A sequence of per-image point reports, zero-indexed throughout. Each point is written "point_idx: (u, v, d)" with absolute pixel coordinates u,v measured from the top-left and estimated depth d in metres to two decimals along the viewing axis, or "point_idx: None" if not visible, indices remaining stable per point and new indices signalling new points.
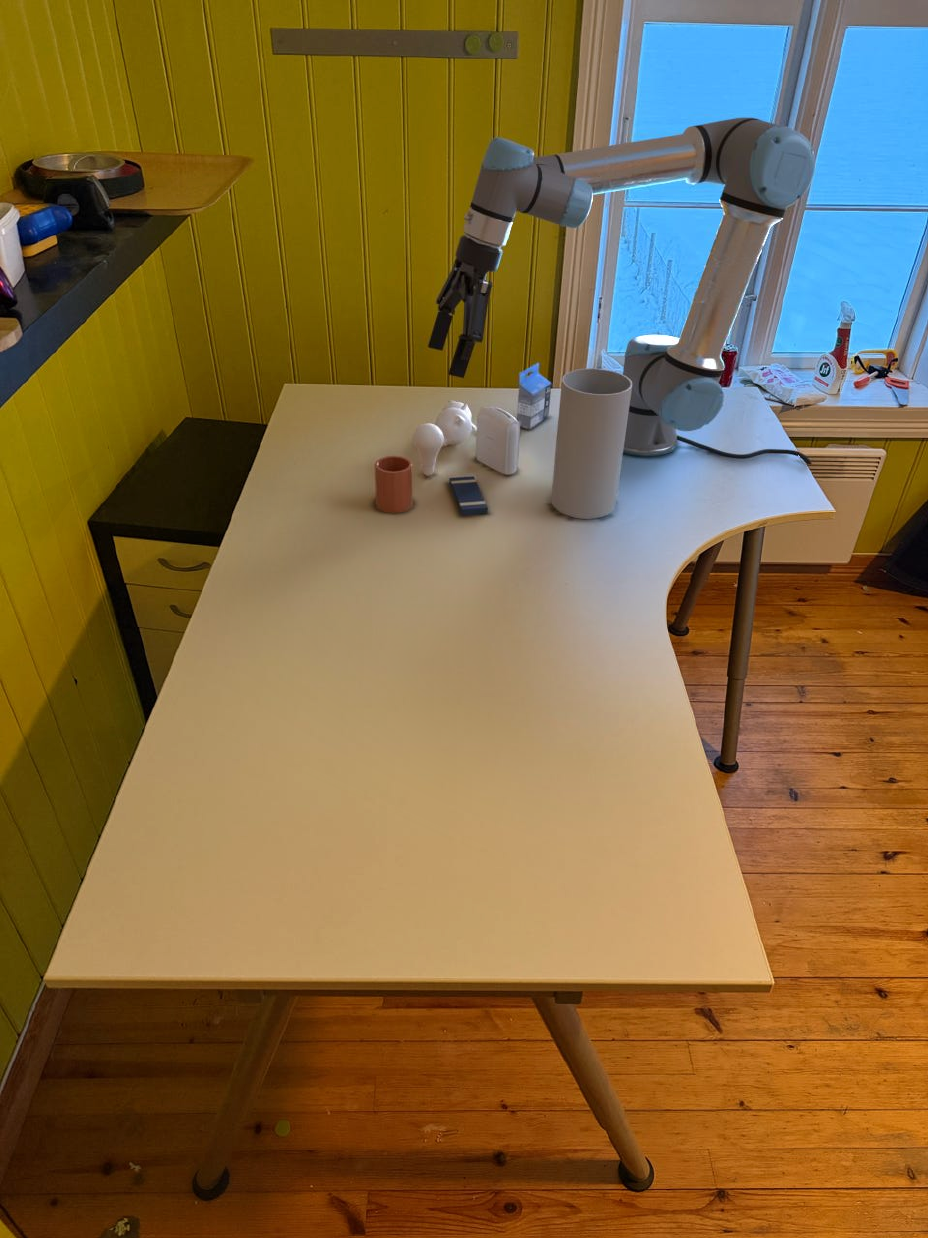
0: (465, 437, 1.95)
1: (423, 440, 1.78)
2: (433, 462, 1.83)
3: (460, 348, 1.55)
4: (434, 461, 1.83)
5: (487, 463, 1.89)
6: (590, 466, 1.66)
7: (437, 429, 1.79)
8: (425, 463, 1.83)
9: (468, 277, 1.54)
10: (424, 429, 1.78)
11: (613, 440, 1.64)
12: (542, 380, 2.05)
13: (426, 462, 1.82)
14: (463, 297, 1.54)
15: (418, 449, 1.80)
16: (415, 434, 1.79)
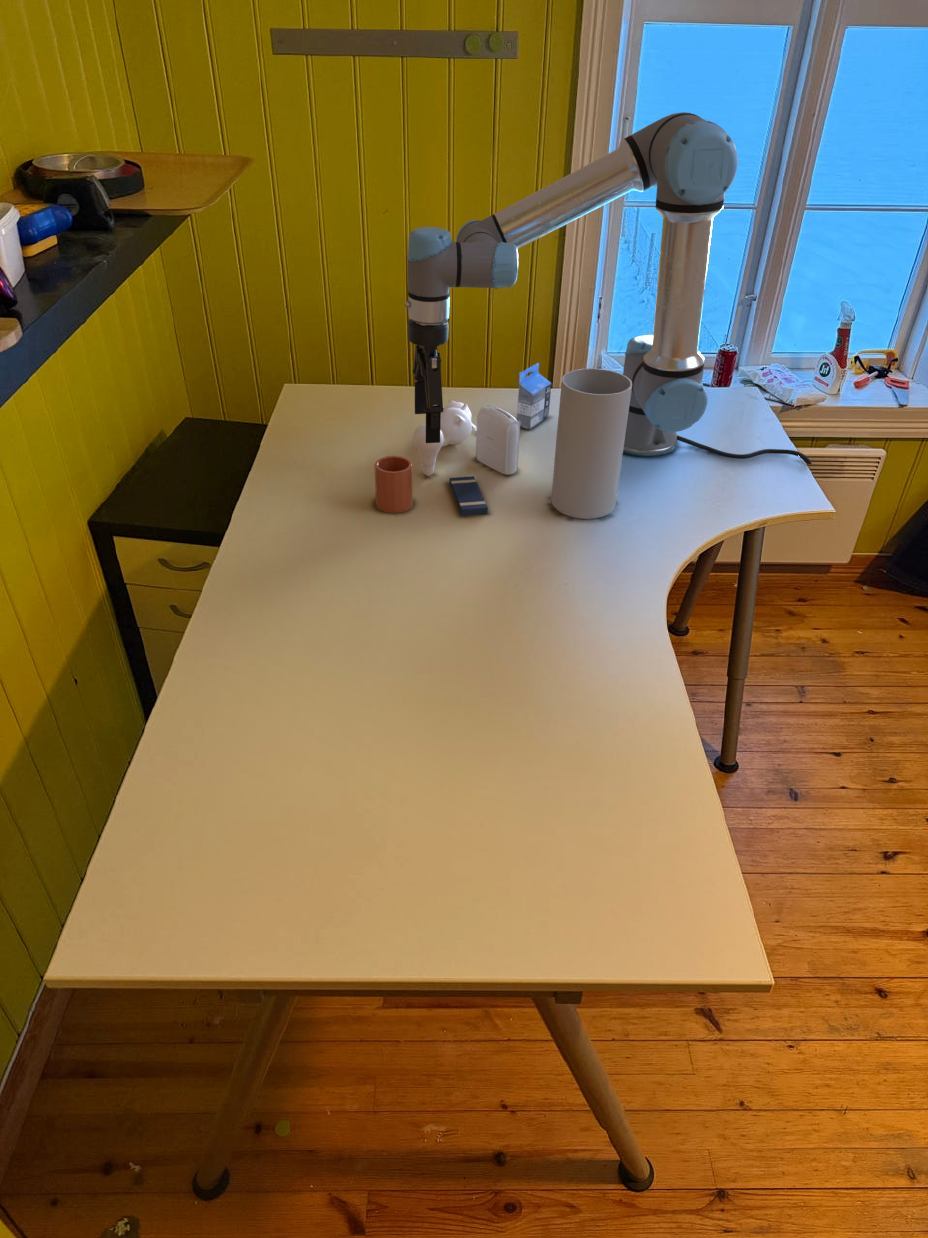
0: (465, 437, 1.95)
1: (423, 440, 1.78)
2: (433, 462, 1.83)
3: (428, 419, 1.71)
4: (434, 461, 1.83)
5: (487, 463, 1.89)
6: (590, 466, 1.66)
7: None
8: (425, 463, 1.83)
9: (423, 354, 1.69)
10: (424, 429, 1.78)
11: (613, 440, 1.64)
12: (542, 380, 2.05)
13: (426, 462, 1.82)
14: (421, 373, 1.69)
15: (418, 449, 1.80)
16: (415, 434, 1.79)
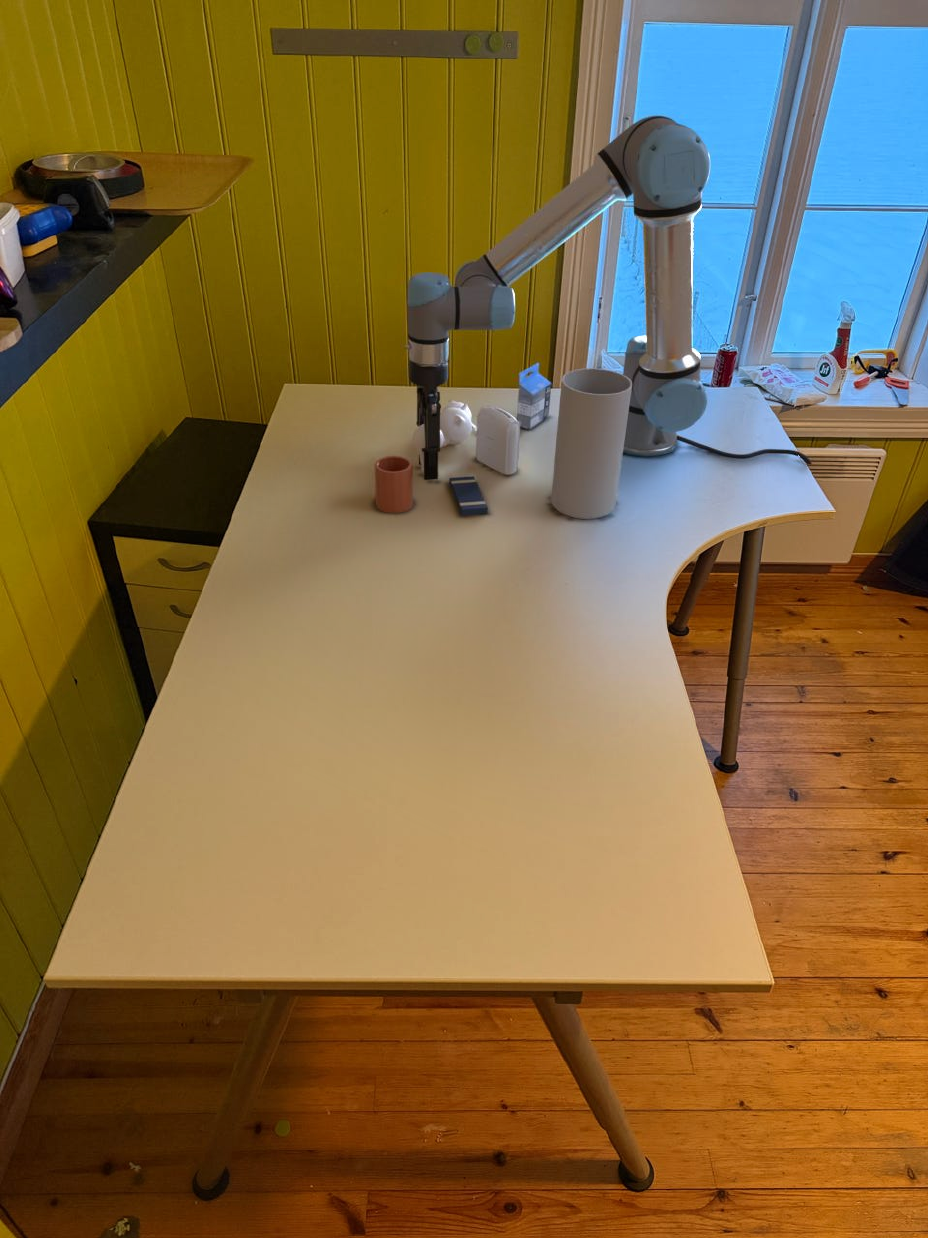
0: (465, 437, 1.95)
1: (423, 440, 1.78)
2: None
3: (426, 457, 1.79)
4: None
5: (487, 463, 1.89)
6: (590, 466, 1.66)
7: None
8: None
9: (423, 395, 1.74)
10: None
11: (613, 440, 1.64)
12: (542, 380, 2.05)
13: None
14: (421, 413, 1.75)
15: (418, 449, 1.80)
16: (415, 434, 1.79)
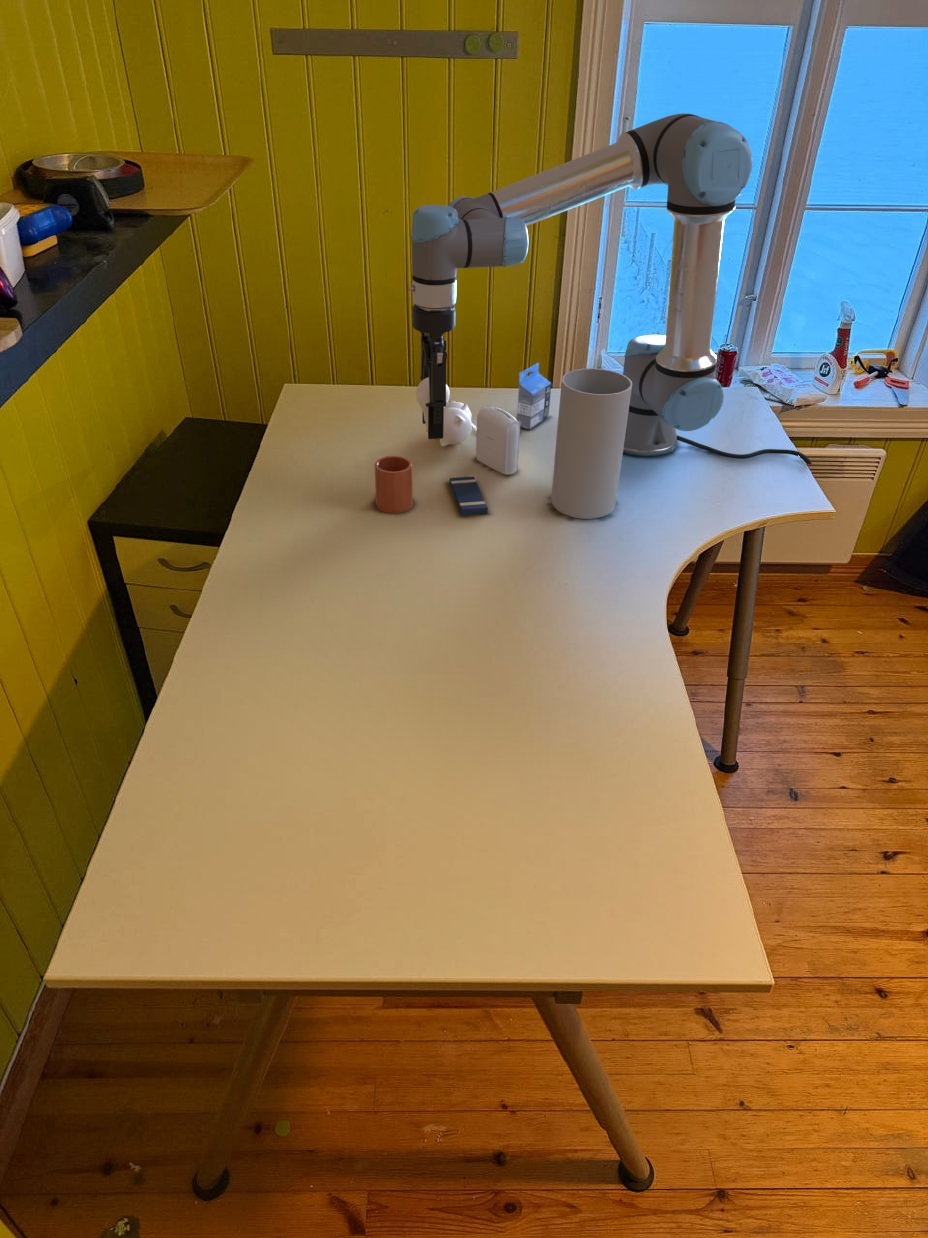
0: (465, 437, 1.95)
1: (428, 394, 1.63)
2: None
3: (431, 414, 1.64)
4: None
5: (487, 463, 1.89)
6: (590, 466, 1.66)
7: None
8: None
9: (428, 344, 1.58)
10: (428, 383, 1.63)
11: (613, 440, 1.64)
12: (542, 380, 2.05)
13: None
14: (426, 364, 1.60)
15: (422, 405, 1.65)
16: (419, 388, 1.64)
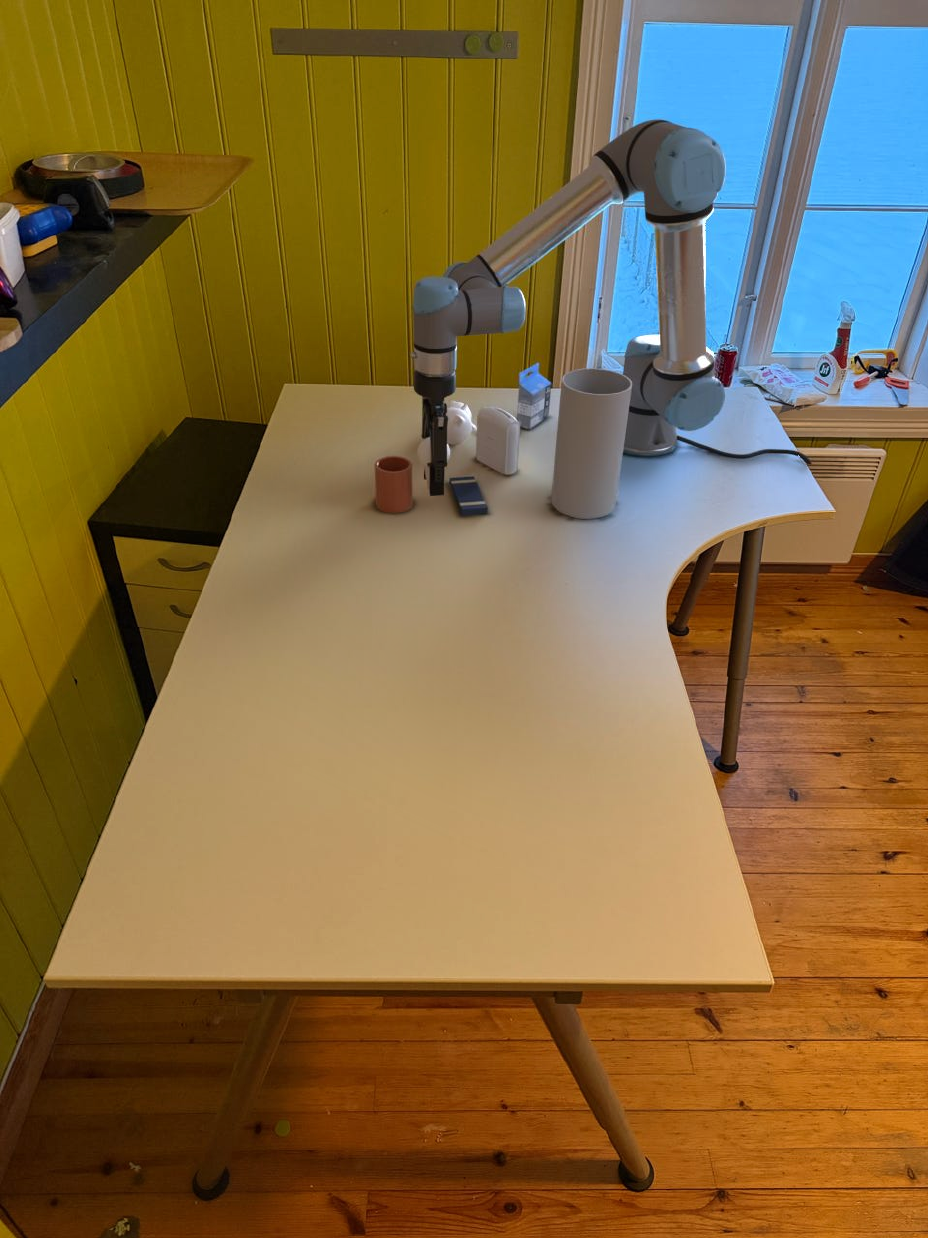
0: (465, 437, 1.95)
1: (429, 454, 1.68)
2: None
3: (432, 473, 1.69)
4: None
5: (487, 463, 1.89)
6: (590, 466, 1.66)
7: None
8: None
9: (429, 407, 1.64)
10: (429, 443, 1.68)
11: (613, 440, 1.64)
12: (542, 380, 2.05)
13: None
14: (427, 426, 1.65)
15: (423, 464, 1.70)
16: (420, 448, 1.69)
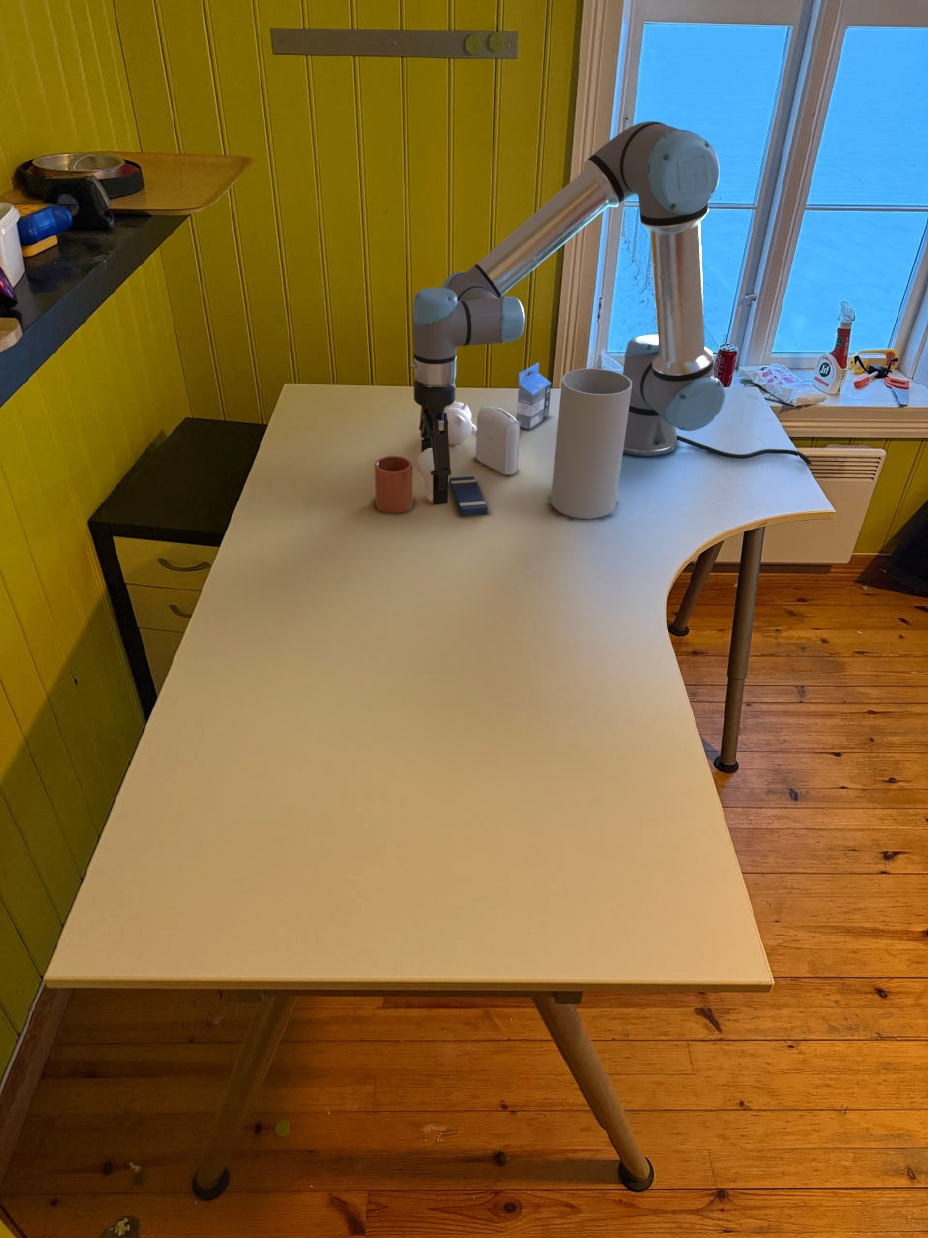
0: (465, 437, 1.95)
1: (429, 465, 1.70)
2: None
3: (436, 481, 1.67)
4: None
5: (487, 463, 1.89)
6: (590, 466, 1.66)
7: None
8: (430, 489, 1.74)
9: (429, 415, 1.65)
10: (429, 454, 1.70)
11: (613, 440, 1.64)
12: (542, 380, 2.05)
13: (431, 488, 1.74)
14: (428, 435, 1.65)
15: (423, 475, 1.72)
16: (420, 459, 1.71)
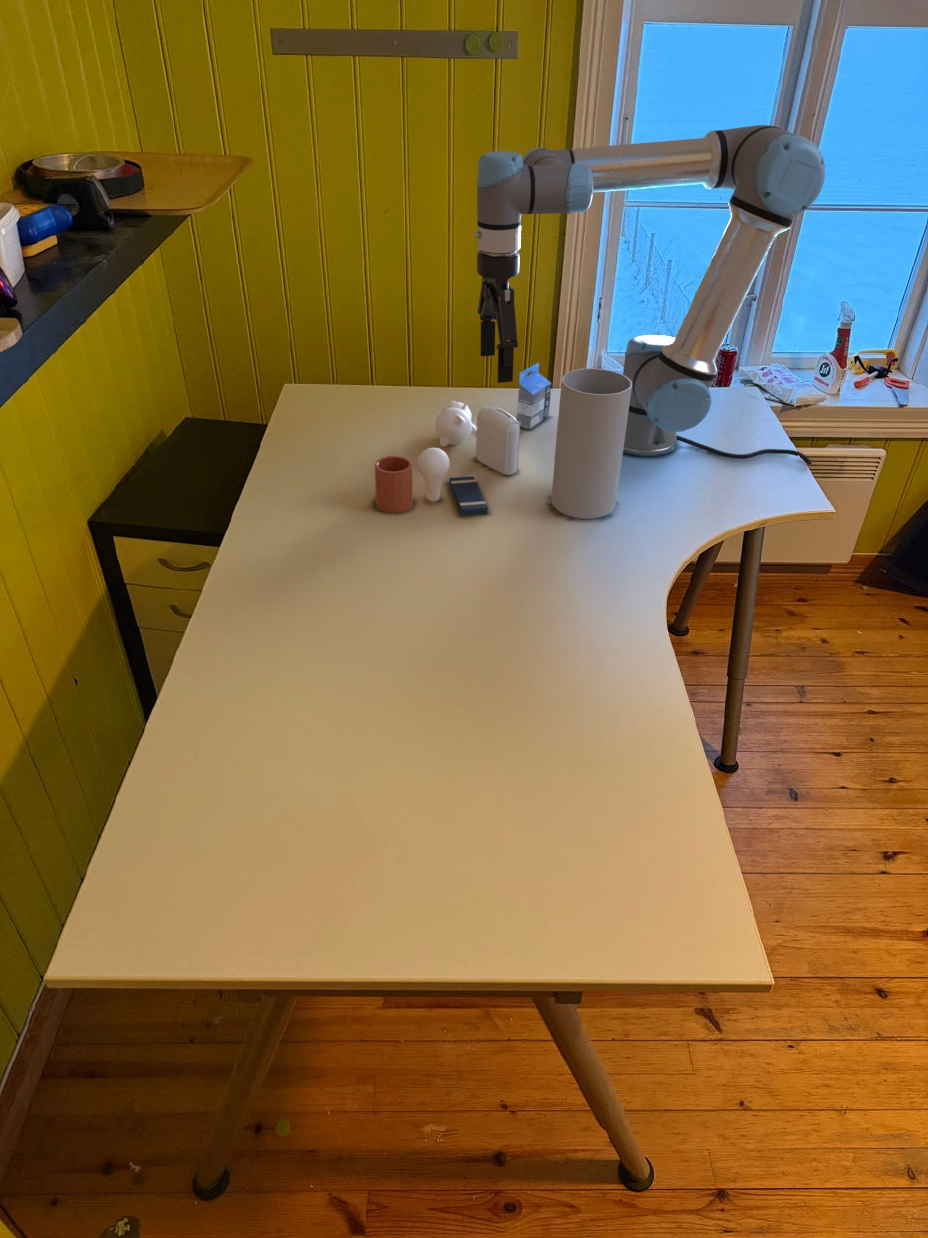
0: (465, 437, 1.95)
1: (429, 465, 1.70)
2: (439, 488, 1.74)
3: (501, 356, 1.64)
4: (440, 487, 1.74)
5: (487, 463, 1.89)
6: (590, 466, 1.66)
7: (443, 454, 1.71)
8: (430, 489, 1.74)
9: (493, 288, 1.62)
10: (429, 454, 1.70)
11: (613, 440, 1.64)
12: (542, 380, 2.05)
13: (431, 488, 1.74)
14: (493, 308, 1.62)
15: (423, 475, 1.72)
16: (420, 459, 1.71)
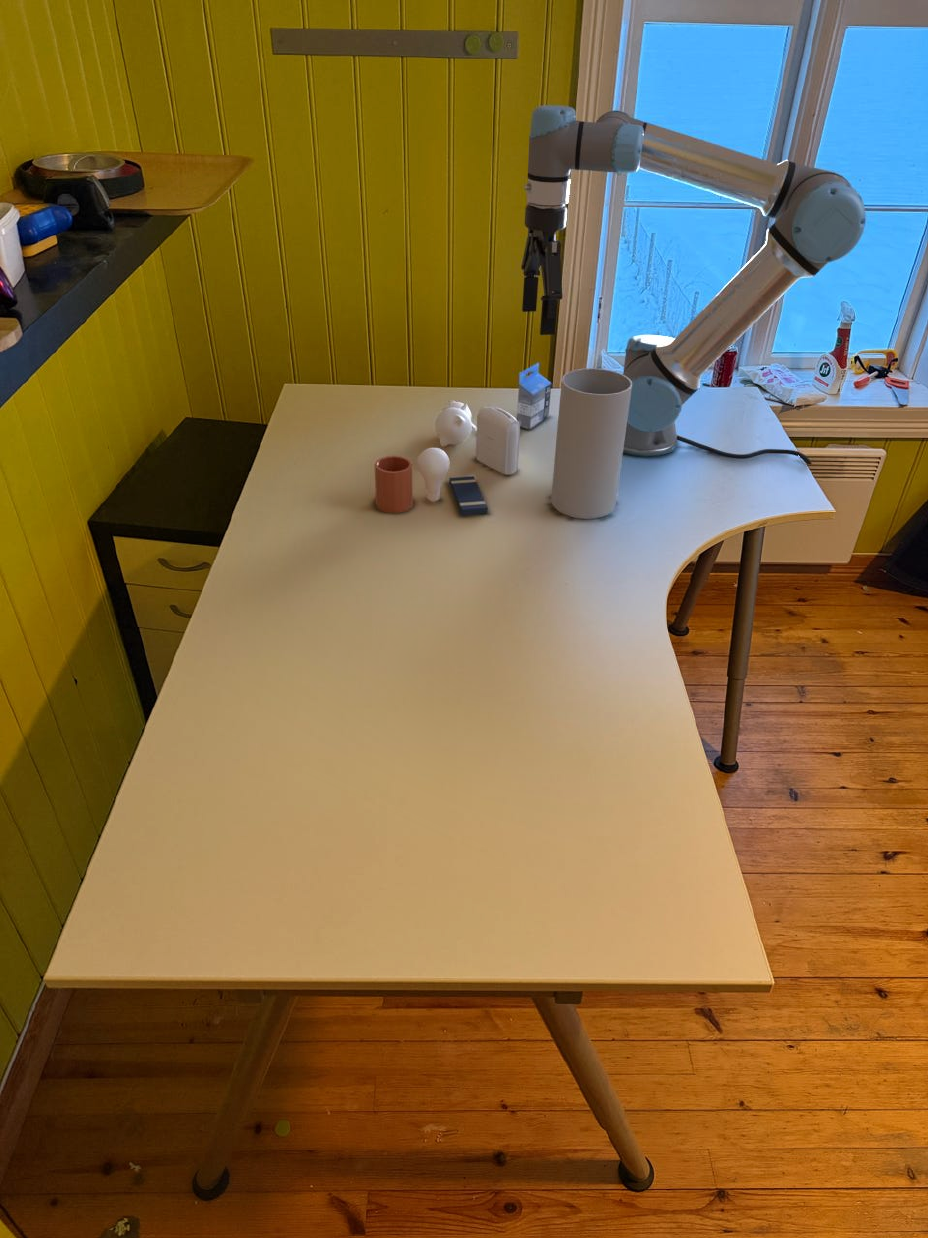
0: (465, 437, 1.95)
1: (429, 465, 1.70)
2: (439, 488, 1.74)
3: (545, 308, 1.68)
4: (440, 487, 1.74)
5: (487, 463, 1.89)
6: (590, 466, 1.66)
7: (443, 454, 1.71)
8: (430, 489, 1.74)
9: (540, 241, 1.66)
10: (429, 454, 1.70)
11: (613, 440, 1.64)
12: (542, 380, 2.05)
13: (431, 488, 1.74)
14: (539, 261, 1.66)
15: (423, 475, 1.72)
16: (420, 459, 1.71)
